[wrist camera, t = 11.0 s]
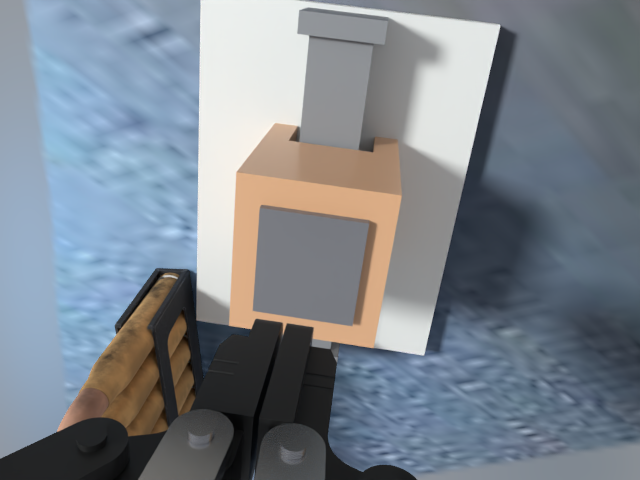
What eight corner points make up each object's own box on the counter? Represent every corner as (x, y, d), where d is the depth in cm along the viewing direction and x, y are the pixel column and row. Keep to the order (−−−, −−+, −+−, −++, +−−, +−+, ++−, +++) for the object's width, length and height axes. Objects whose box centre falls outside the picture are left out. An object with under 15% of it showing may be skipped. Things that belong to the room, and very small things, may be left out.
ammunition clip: (209, 425, 34) (126, 634, 23) (179, 422, 34) (83, 630, 23) (189, 268, 29) (74, 437, 18) (155, 267, 29) (21, 434, 19)
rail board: (495, 23, 23) (514, 30, 19) (422, 344, 30) (427, 388, 26) (208, -12, 23) (179, -11, 20) (201, 310, 30) (179, 349, 27)
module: (397, 139, 24) (401, 199, 17) (376, 261, 27) (373, 353, 20) (275, 122, 24) (233, 175, 18) (265, 245, 27) (226, 330, 20)
